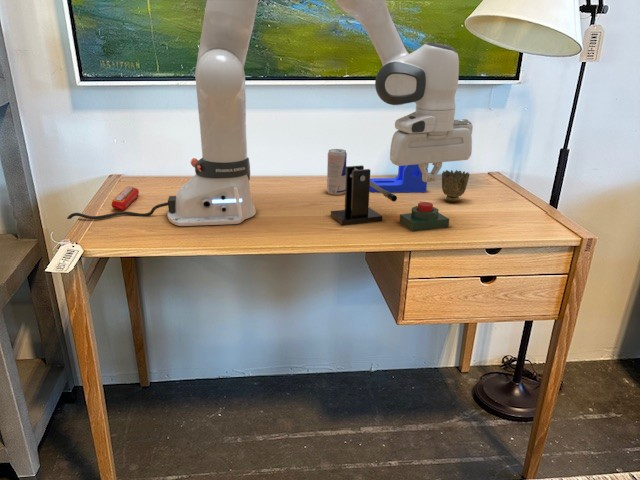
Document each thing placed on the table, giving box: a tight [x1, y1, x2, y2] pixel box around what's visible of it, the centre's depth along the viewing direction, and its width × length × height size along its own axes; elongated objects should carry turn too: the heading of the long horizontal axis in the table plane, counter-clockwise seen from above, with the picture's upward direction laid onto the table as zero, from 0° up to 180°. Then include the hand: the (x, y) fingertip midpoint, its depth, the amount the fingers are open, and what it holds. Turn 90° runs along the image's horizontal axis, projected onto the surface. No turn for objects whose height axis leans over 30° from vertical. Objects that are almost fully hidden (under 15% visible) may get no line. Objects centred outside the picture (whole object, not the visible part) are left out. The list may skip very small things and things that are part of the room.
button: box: [417, 201, 434, 212], centre depth 143 cm, size 4×4×2 cm
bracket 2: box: [369, 164, 429, 194], centre depth 173 cm, size 18×8×9 cm, turn 95°
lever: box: [350, 168, 398, 202], centre depth 147 cm, size 13×5×2 cm
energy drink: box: [326, 148, 348, 196], centre depth 168 cm, size 5×5×12 cm
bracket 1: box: [330, 164, 383, 226], centre depth 146 cm, size 11×8×13 cm
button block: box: [398, 205, 450, 232], centre depth 144 cm, size 10×7×4 cm
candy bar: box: [111, 186, 140, 211], centre depth 158 cm, size 16×4×3 cm, turn 0°
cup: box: [441, 169, 470, 203], centre depth 162 cm, size 8×7×8 cm
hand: (428, 181), depth 140 cm, fingers closed
